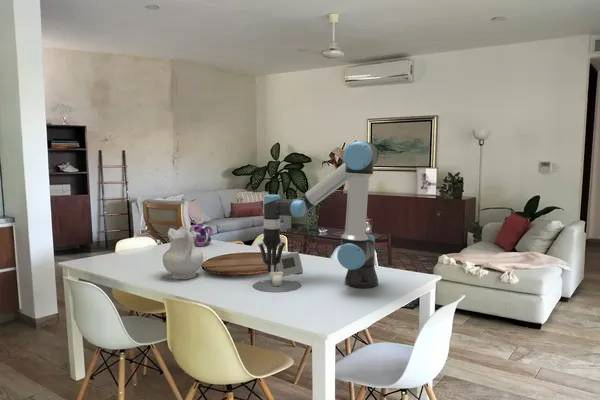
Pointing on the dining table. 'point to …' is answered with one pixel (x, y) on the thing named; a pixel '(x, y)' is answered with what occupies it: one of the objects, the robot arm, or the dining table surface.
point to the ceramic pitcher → (182, 254)
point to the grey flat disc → (285, 287)
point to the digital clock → (289, 264)
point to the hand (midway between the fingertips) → (271, 278)
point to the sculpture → (202, 234)
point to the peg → (276, 278)
